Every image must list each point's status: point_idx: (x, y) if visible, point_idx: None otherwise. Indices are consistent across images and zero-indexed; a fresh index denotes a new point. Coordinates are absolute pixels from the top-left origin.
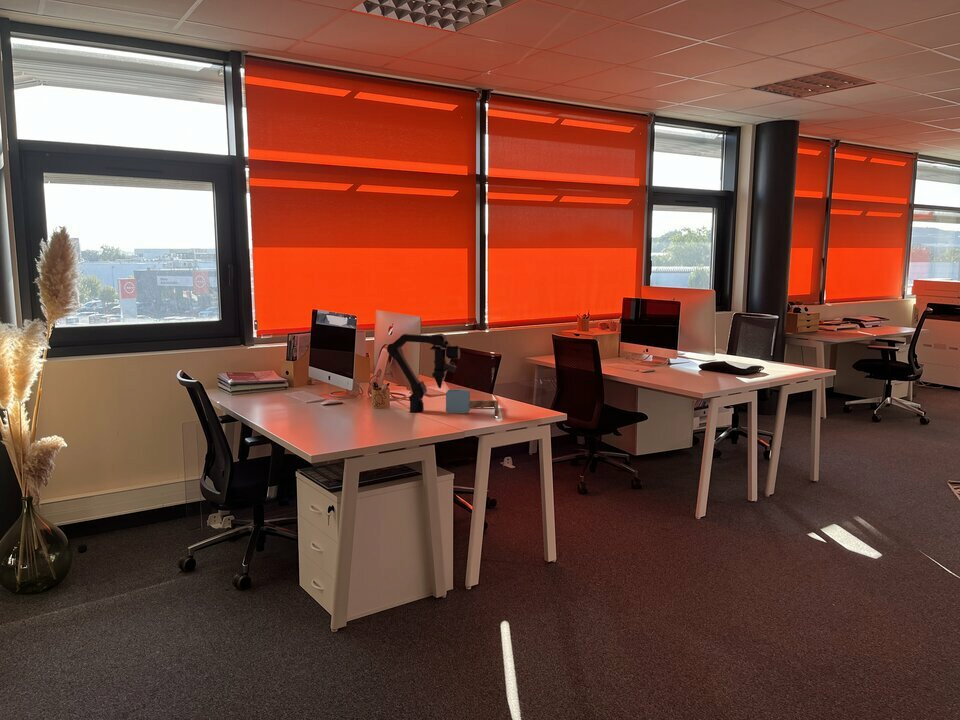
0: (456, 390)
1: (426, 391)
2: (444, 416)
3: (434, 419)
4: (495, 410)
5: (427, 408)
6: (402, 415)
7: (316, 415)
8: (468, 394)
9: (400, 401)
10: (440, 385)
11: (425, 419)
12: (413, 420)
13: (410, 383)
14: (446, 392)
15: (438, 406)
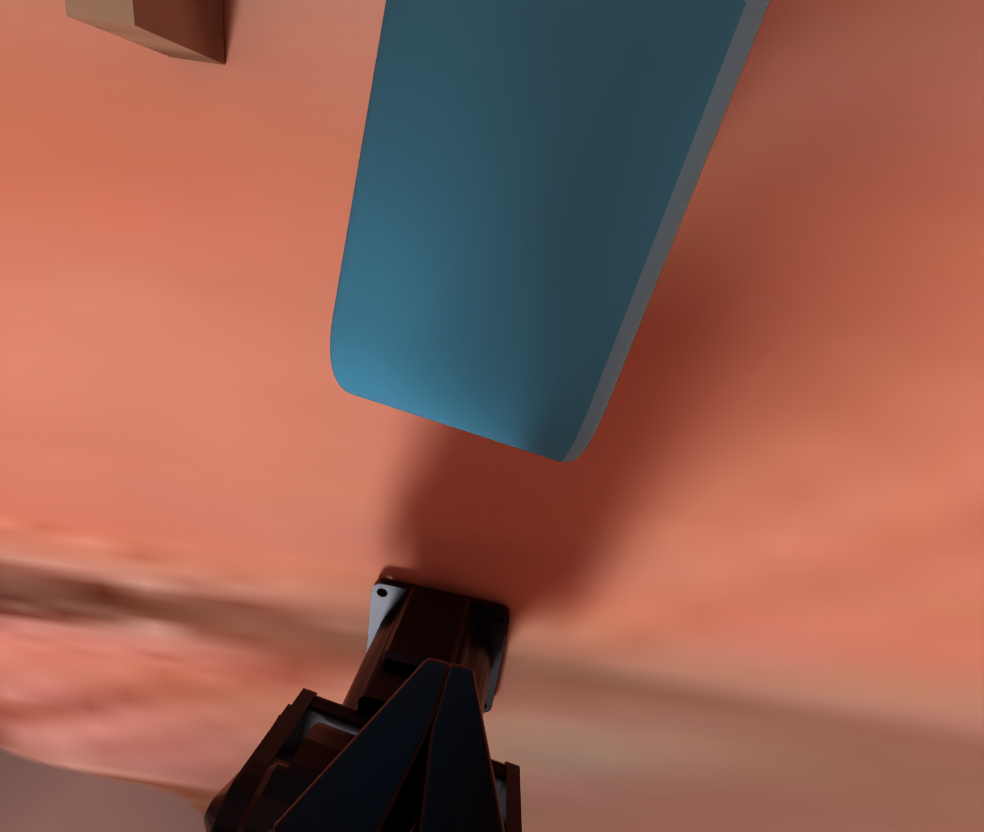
0: (588, 115)
1: (306, 769)
2: (772, 379)
3: (920, 522)
4: None
5: (285, 521)
6: (611, 770)
7: None
8: None
9: (13, 697)
10: (483, 761)
11: (879, 614)
12: (885, 725)
13: None
14: (574, 458)
15: (165, 390)
